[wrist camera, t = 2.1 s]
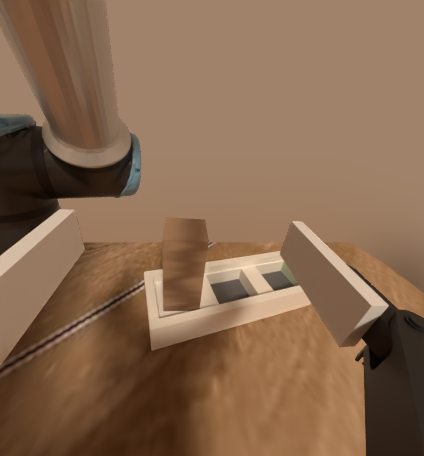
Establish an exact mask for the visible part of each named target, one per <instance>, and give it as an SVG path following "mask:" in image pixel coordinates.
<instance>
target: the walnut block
mask: <svg viewBox="0 0 424 456" xmlns="http://www.w3.org/2000/svg"><path fill="white" fill-rule="evenodd" d="M208 242H209V241H208V235H207V229H206V223H205V220H200V219H181V218H166V224H165V228H164V234H163V240H162V246H163V311H194V310H198V309H200V302H201V294H202V287H203V279H204V272H205V264H206V257H207V249H208Z"/></svg>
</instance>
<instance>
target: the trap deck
mask: <svg viewBox="0 0 424 456" xmlns="http://www.w3.org/2000/svg"><path fill="white" fill-rule="evenodd" d="M280 252H281V251H278V252H271V253H265V254H258V255H251V256H245V257H238V258H232V259H225V260H219V261H212V262H206V264H205V272H204V279H203V287H202V294H201V302H200V309H198V310H194V311H163V269H160V270H153V271H147V272H144V281H145V293H146V303H147V312H148V322H149V332H150V342H151V351H153V350H156V349H160V348H163V347H167V346H170V345H173V344H177V343H180V342H184V341H187V340H191V339H194V338H197V337H201V336H204V335H208V334H211V333H215V332H218V331H221V330H225V329H228V328H232V327H235V326H239V325H242V324H246V323H249V322H252V321H256V320H259V319H263V318H266V317H270V316H273V315H276V314H280V313H283V312H287V311H290V310H294V309H297V308H300V307H304V306H307V305H311V304H312V303H311V302H310V300H309V299H308V297H307V296H306V294H305V293H304V291H303V290H302V288H301V286H300V285H299V283H298V282H297V280H296V279H295V277H294V276H293V274H292V273H291V271H290V269H289V268H288V266H287V265H286V263H285V262H284V260H283V259H282V257H281V256H280Z"/></svg>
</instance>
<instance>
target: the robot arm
mask: <svg viewBox="0 0 424 456" xmlns="http://www.w3.org/2000/svg"><path fill="white" fill-rule="evenodd" d="M0 28H1V30H2V32H3V34H4V36H5V38H6V40H7V42H8V44H9V46H10V48H11V50H12V52H13V54H14V55H15V58H16V60H17V62H18V63H19V66H20V68H21V69H22V71H23V73H24V75H25V77H26V79H27V81H28V83H29V85H30V87H31V89H32V91H33V93H34V95H35V97H36V99H37V101H38V103H39V105H40V107H41V109H42V111H43V113H44V115H45V117H46V120H45V121H44V123H43V127H39V126H36V122H35V121H34V120H33V118H32V117H31V116H30V115H22V114H21V115H19V114H1V115H0V366H1V364H2V363H3V362H4V360H5V359H6V357H7V356H8V355H9V353H10V352H11V351H12V349H13V348H14V346H15V345H16V344H17V342H18V341H19V340H20V338H21V337H22V335H23V334H24V333H25V331H26V330H27V329H28V327H29V326H30V324H31V323H32V322H33V320H34V319H35V318H36V316H37V315H38V313H39V312H40V311H41V309H42V308H43V307H44V305H45V304H46V302H47V301H48V300H49V298H50V297H51V296H52V294H53V293H54V291H55V290H56V289H57V287H58V286H59V285H60V283H61V282H62V280H63V279H64V278H65V276H66V275H67V274H68V272H69V271H70V269H71V268H72V267H73V265H74V264H75V263H76V261H77V260H78V258H79V257H80V256H81V254H82V253H83V252H84V250H85V248H84V244H83V240H82V236H81V232H80V228H79V224H78V221H77V217H76V213H75V210H64V209H61V208H60V206H59V203H58V200H57V199H58V198H86V197H87V198H89V197H116V198H119V197H121V196H131V195H134V194H135V193H136V192H137V190H138V188H139V184H140V177H141V172H140V169H141V153H140V152H141V151H140V144H139V140H138V138H137V137H136V135H134V134H131V133H130V132H129V130H128V127H127V126H126V124H125V123H124V122H123V121H122V120H121V119H120V118H119V117H118V108H117V99H116V90H115V82H114V73H113V64H112V55H111V46H110V37H109V28H108V19H107V10H106V1H105V0H0ZM280 256H281V257H282V259H283V260H284V262H285V263H286V265H287V266H288V268H289V269H290V271H291V273H292V274H293V276H294V277H295V279H296V280H297V282H298V283H299V285H300V286H301V288H302V290H303V291H304V293H305V294H306V296H307V297H308V299H309V300H310V302H311V303H312V305H313V307H314V308H315V310H316V311H317V313H318V314H319V316H320V317H321V319H322V320H323V322H324V324H325V325H326V327H327V328H328V330H329V331H330V333H331V334H332V336H333V337H334V339H335V341H336V342H337V344H338V345H339V347H349V346H355V345H356V344H357V343H358V342H359V341H360V339H361V338H362V339H363V340H364V341H365V343H366V344H367V345H366V346H365V347H364V348H363V349H362V351H361V352H360V353H359V354H358V355H357V356H356V359H355V360H356V361H357V362H358V361H359V360H360V359H361V358H362V357H364V362H363V363H362V364H363V365H364V391H365V428H366V456H424V318H422V317H421V316H419V315H417V314H415V313H413V312H410V311H407V310H398V309H397V308H396V307H395V306H394V305H393V304H392V303H391V302H390V301H389V300H388V299H387V298H386V297H385V296H383V295H382V294H381V293H380V292H379V291H378V290H377V289H376V288H375V287H374V286H373V285H371V283H370V282H369V281H368V280H366V279H364V277H363V276H362V275H361V274H360V273H359V272H358V271H357V270H356V269H354V268H352V267H351V266H349V265H348V264H346V263H344V262H343V261H342V260H341V259H340V258H339V257H338V256H337V255H336V254H335V253H334V252H333V251H332V250H331V249H330V248H329V247H328V246H327V245H326V244H325V243H324V242H323V241H322V240H320V239H319V238H318V237H317V236H316V235H315V234H314V233H313V232H312V231H311V230H310V229H309V228H308V227H307V226H306V225H305V224H304V223H303V222H297V221H291V224H290V227H289V229H288V232H287V235H286V238H285V241H284V243H283V246H282V249H281V252H280Z"/></svg>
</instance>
